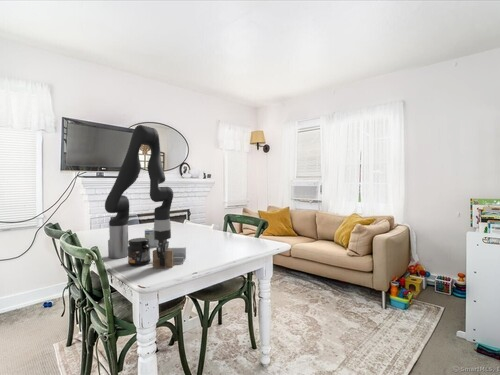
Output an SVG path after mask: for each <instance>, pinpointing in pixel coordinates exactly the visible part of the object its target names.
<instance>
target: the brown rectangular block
mask: <svg viewBox="0 0 500 375" xmlns="http://www.w3.org/2000/svg"><path fill="white" fill-rule="evenodd" d="M161 255H162V254H161ZM173 267H174V264H173V249H169V250H166V253H165V266H160V258H158V255H157V250H156V249H153V250H152V268H153V269H164V268H165V269H166V268H167V269H169V268H173Z"/></svg>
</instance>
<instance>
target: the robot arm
mask: <svg viewBox="0 0 500 375" xmlns="http://www.w3.org/2000/svg"><path fill="white" fill-rule="evenodd" d="M159 135H160V134H159V131H158V129H156V128H154V127H151V126H146V125H142V124H139V125H137V126H136V127H134V129H133V132H132V134H131V139H130V142H129V145H128V148H127V152H126V154H125V156H124V159H123V162H122V164H121V166H120V168H119V171H118V175H117V176H116V179H115V181H114V184H113V185H112V187H111V189H110V191H109V193H108V195H107V197H106V199H105V202H104V209H105V211H106V212H107V213H108V214H116V215H115V216H114V217H113V218H111V219H109V221H108V228H109V230H108V232H109V234H108V235H109V239H108V240H107V251H108V252H107V254H108V256H107V257H108V258H109V259H122V258H126V257H127V258H128V246H129V242H128V241H129V219H130V201H129V198H128V197H127V196H126V195H123V194H124V193H125V191H127V190H128V189H130V187H131V186H132V185H134V183H136V181H137V180H138V177H139V176H140V172H141V170H142V165H141V159H140V158H139V156H140V155H139V153H140V149H141V148H142V145H144V146H147V147H149V149H150V150H149V151H150V157H149V159H148V162H147V167H146V168H147V173H148V176H149V198H150V199H151V200H152V202H154V203H160V202H161V205H159V206H156V207H155V208H154V212H153V214H154V217H153V218H154V222H153V228H154V239H155V240H158V241H159V242H158V246H156V247H155V248H156V249H155V250H157V255H158V258H160V266H165V253H166V250H168V248H169V245H170V244H169V243H170V241H168V240H170V239H171V238H172V230H171V228H172V225H171V207H172V204H173V200H174V190H173V189H172V187H170V186H159V185H160V184H163V183H165V182H166V175H165V172H164V167H163V163H162V157H161V156H162V155H161V144H160V136H159ZM161 254H162V255H161Z"/></svg>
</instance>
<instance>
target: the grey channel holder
mask: <svg viewBox="0 0 500 375" xmlns="http://www.w3.org/2000/svg"><path fill="white" fill-rule="evenodd" d="M169 249H173V265H183V264H184V263H185V262H186V260H187V247H186V246H184V247H182V246H181V247H179V246H177V247H168V250H169Z"/></svg>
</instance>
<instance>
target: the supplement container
mask: <svg viewBox="0 0 500 375" xmlns="http://www.w3.org/2000/svg"><path fill="white" fill-rule="evenodd" d="M150 263H151V247H150V244H149V239H148V238H145V237H136V238H135V237H134V238H131V239H128V256H127V264H128V265H129V266H131V267H141V266H142V267H143V266H146V265H149V264H150Z"/></svg>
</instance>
